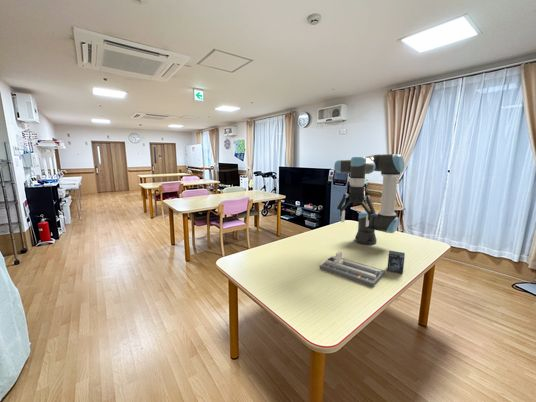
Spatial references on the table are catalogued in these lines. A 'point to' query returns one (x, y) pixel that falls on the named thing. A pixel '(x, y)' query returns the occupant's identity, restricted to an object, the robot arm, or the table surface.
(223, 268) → the table surface
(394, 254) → the box
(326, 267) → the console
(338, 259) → the fader tab
